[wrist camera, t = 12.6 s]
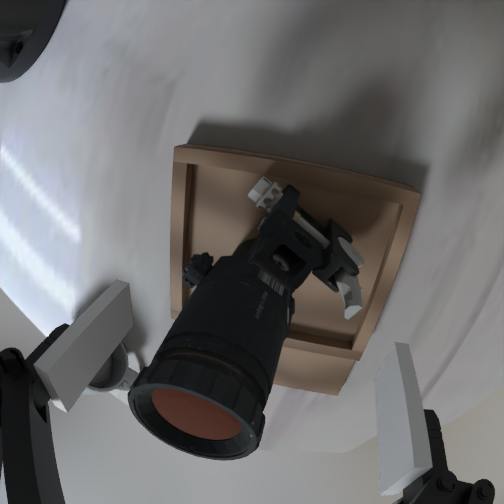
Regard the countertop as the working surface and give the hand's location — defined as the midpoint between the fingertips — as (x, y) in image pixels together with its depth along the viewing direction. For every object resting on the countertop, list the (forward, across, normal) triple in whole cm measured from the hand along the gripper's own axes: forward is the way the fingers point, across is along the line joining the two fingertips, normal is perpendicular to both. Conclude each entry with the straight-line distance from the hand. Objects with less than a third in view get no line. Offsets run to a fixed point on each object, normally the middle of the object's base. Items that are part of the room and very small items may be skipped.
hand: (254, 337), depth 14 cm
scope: (+9, -1, 0) cm, 9 cm away
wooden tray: (+10, 0, -3) cm, 10 cm away
